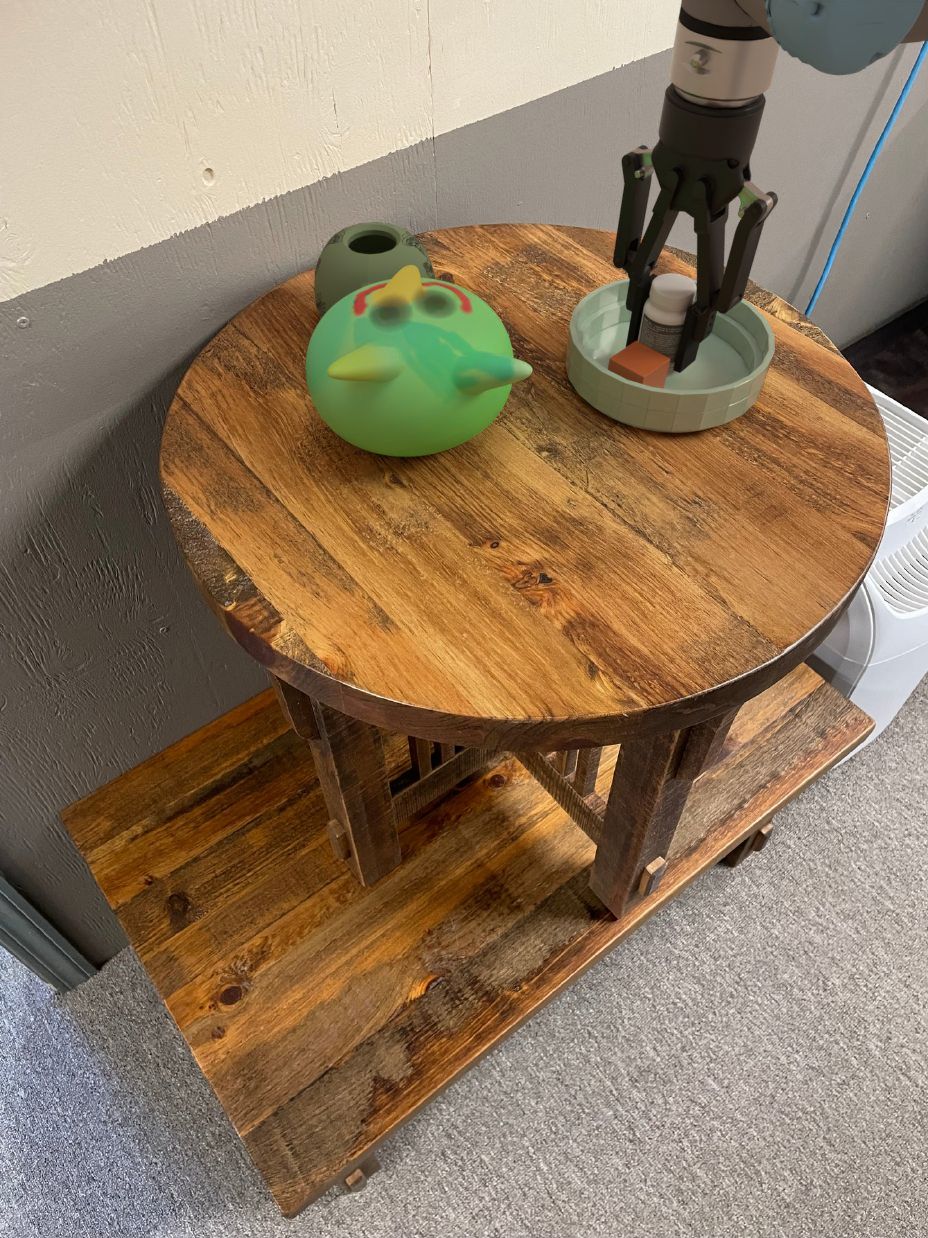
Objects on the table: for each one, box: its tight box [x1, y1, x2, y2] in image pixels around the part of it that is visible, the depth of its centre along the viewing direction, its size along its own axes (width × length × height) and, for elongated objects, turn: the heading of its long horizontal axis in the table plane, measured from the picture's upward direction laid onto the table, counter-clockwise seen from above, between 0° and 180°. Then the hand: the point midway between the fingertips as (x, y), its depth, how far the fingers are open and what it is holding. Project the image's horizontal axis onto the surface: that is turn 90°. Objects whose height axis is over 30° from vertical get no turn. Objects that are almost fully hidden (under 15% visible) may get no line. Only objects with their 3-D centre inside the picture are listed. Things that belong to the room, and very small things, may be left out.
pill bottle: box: [638, 273, 696, 377], centre depth 81 cm, size 5×5×8 cm
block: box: [608, 341, 670, 388], centre depth 81 cm, size 4×4×4 cm
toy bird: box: [305, 265, 533, 458], centre depth 74 cm, size 18×17×15 cm
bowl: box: [564, 277, 776, 434], centre depth 84 cm, size 19×19×5 cm
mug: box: [313, 221, 436, 320], centre depth 87 cm, size 16×13×9 cm
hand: (660, 353), depth 83 cm, fingers closed on pill bottle, 5 cm apart
